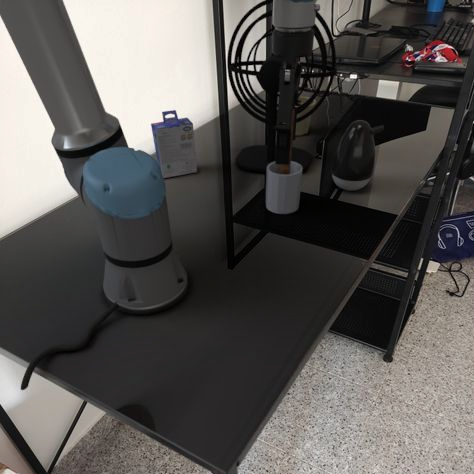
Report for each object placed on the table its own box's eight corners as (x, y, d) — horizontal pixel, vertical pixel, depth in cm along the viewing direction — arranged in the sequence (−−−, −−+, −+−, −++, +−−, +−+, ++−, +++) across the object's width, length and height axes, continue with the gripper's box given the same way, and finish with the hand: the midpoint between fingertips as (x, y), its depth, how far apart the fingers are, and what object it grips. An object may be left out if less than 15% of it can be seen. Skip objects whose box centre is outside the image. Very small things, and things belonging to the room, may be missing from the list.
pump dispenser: (371, 197, 103) (386, 130, 92) (327, 193, 105) (337, 127, 94) (371, 178, 110) (384, 114, 99) (330, 175, 112) (339, 111, 101)
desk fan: (327, 152, 122) (348, -6, 97) (319, 179, 110) (341, 6, 85) (235, 145, 127) (232, -8, 102) (218, 170, 115) (211, 3, 90)
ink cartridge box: (192, 164, 118) (186, 106, 107) (198, 172, 114) (193, 113, 104) (157, 171, 115) (148, 112, 105) (162, 179, 112) (153, 119, 101)
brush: (281, 209, 99) (287, 114, 84) (271, 202, 101) (275, 109, 87) (295, 204, 100) (303, 110, 86) (284, 197, 103) (290, 105, 88)
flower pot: (277, 128, 136) (279, 98, 129) (305, 125, 137) (308, 94, 131) (289, 139, 129) (291, 108, 123) (317, 135, 131) (321, 104, 125)
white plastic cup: (279, 217, 97) (281, 178, 91) (259, 204, 102) (260, 166, 95) (305, 207, 100) (309, 169, 94) (284, 194, 105) (287, 157, 98)
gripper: (309, 43, 68) (298, 177, 83) (318, 15, 85) (307, 130, 100) (262, 42, 69) (259, 174, 84) (280, 15, 86) (275, 129, 101)
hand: (285, 151), depth 92 cm, fingers open, 13 cm apart
